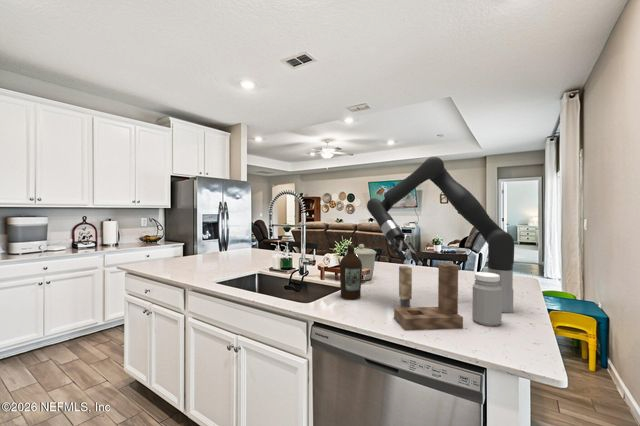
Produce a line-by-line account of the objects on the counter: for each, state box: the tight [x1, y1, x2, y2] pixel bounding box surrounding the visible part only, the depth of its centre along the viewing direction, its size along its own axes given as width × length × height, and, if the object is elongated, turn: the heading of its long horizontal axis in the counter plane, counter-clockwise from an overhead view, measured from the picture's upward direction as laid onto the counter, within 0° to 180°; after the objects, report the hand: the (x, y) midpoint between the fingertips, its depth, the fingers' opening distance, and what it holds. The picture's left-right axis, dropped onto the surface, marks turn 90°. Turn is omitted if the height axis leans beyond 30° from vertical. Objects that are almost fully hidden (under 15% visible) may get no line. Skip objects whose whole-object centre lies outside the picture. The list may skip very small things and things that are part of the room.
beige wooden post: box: [398, 265, 413, 308], centre depth 129 cm, size 4×4×18 cm
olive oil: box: [339, 244, 362, 301], centre depth 148 cm, size 11×11×25 cm
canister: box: [354, 243, 377, 281], centre depth 187 cm, size 18×18×21 cm
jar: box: [471, 271, 503, 327], centre depth 116 cm, size 10×10×18 cm
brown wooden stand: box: [393, 262, 464, 331], centre depth 114 cm, size 22×12×22 cm, turn 95°
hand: (411, 261), depth 128 cm, fingers open, 8 cm apart
